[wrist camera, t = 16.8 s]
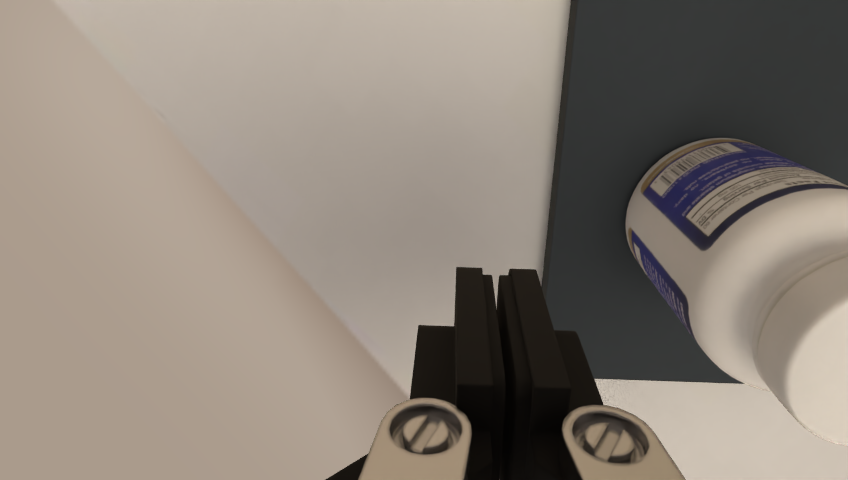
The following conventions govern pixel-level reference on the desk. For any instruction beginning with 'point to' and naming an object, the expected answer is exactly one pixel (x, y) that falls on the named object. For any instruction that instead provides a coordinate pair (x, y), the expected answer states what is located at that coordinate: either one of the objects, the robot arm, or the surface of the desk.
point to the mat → (674, 147)
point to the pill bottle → (753, 269)
